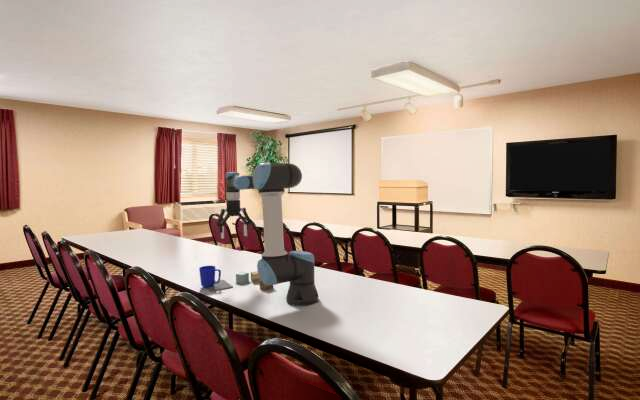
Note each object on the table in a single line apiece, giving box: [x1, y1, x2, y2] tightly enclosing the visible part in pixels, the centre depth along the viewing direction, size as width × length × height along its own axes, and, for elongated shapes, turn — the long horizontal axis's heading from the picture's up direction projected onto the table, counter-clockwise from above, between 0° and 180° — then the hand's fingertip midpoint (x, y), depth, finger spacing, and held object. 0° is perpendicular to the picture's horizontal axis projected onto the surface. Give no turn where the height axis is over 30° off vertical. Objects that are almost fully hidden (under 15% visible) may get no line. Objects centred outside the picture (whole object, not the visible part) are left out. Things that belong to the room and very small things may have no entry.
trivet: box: [205, 279, 234, 293], centre depth 194 cm, size 16×12×1 cm
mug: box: [198, 265, 222, 288], centre depth 192 cm, size 8×12×10 cm
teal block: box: [235, 271, 250, 285], centre depth 201 cm, size 5×5×5 cm
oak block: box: [250, 270, 260, 284], centre depth 202 cm, size 5×5×5 cm
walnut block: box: [259, 279, 274, 291], centre depth 188 cm, size 5×5×5 cm
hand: (234, 237), depth 203 cm, fingers open, 13 cm apart
